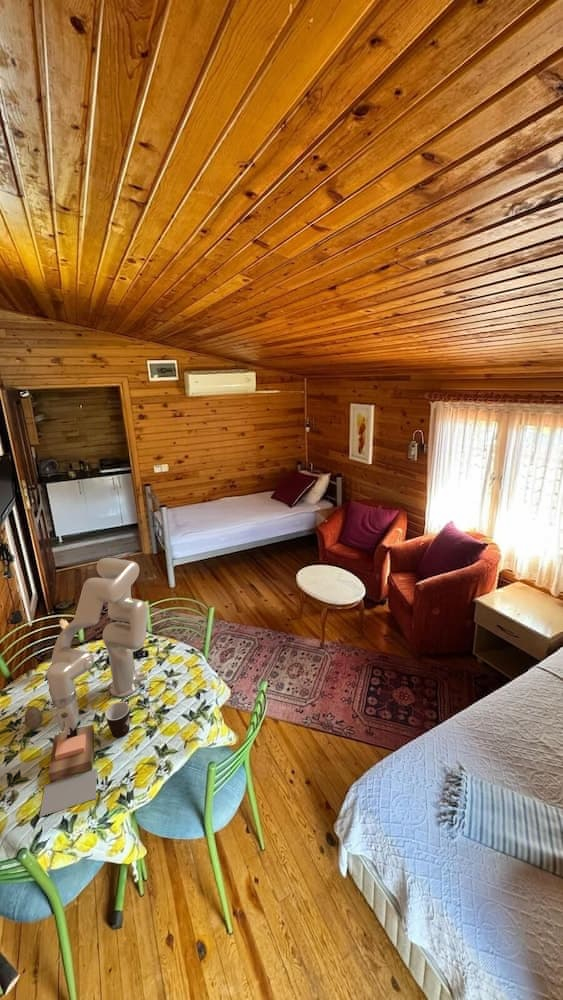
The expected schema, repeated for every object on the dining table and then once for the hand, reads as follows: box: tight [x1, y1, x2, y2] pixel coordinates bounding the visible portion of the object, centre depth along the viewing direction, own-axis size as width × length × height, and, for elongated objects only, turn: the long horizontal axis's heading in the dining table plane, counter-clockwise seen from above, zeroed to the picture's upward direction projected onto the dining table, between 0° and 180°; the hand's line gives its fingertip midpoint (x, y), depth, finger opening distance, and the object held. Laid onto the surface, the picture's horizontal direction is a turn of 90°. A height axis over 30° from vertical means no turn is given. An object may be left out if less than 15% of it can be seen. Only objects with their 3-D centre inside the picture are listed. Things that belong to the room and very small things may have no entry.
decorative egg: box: [24, 705, 44, 731], centre depth 156 cm, size 6×6×10 cm
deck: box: [47, 724, 96, 784], centre depth 145 cm, size 13×16×4 cm
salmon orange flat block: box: [55, 734, 86, 760], centre depth 144 cm, size 9×6×2 cm, turn 110°
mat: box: [39, 768, 98, 818], centre depth 133 cm, size 16×11×1 cm
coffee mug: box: [104, 698, 131, 739], centre depth 156 cm, size 12×9×10 cm
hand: (72, 736), depth 148 cm, fingers closed
